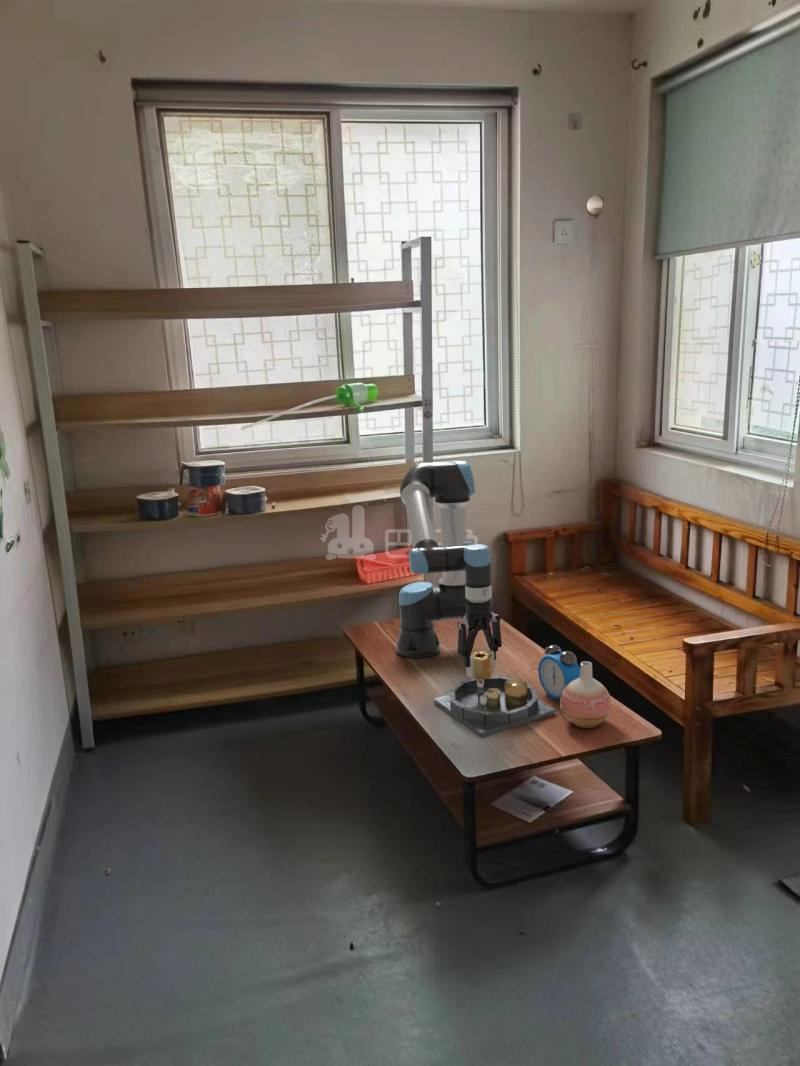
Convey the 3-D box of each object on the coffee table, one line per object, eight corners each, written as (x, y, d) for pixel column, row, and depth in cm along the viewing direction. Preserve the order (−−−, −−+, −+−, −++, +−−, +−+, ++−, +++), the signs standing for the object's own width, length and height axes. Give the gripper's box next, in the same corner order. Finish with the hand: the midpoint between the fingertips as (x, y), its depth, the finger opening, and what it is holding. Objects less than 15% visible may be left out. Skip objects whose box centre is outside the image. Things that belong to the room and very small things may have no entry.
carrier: (434, 703, 236) (433, 679, 234) (503, 683, 247) (503, 660, 245) (481, 737, 214) (481, 712, 212) (555, 714, 225) (555, 689, 224)
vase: (579, 739, 211) (580, 677, 207) (550, 718, 223) (550, 659, 219) (621, 727, 216) (623, 667, 212) (590, 707, 228) (591, 650, 224)
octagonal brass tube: (465, 673, 235) (464, 654, 234) (483, 668, 238) (483, 649, 237) (477, 681, 229) (477, 661, 228) (496, 675, 232) (495, 656, 231)
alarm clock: (537, 690, 241) (537, 644, 237) (553, 685, 244) (553, 639, 240) (566, 707, 230) (567, 658, 226) (583, 701, 232) (583, 653, 229)
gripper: (456, 608, 221) (459, 686, 226) (514, 595, 230) (515, 670, 235) (442, 601, 227) (445, 677, 233) (499, 589, 236) (500, 662, 241)
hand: (480, 673), depth 234 cm, fingers closed on octagonal brass tube, 6 cm apart
